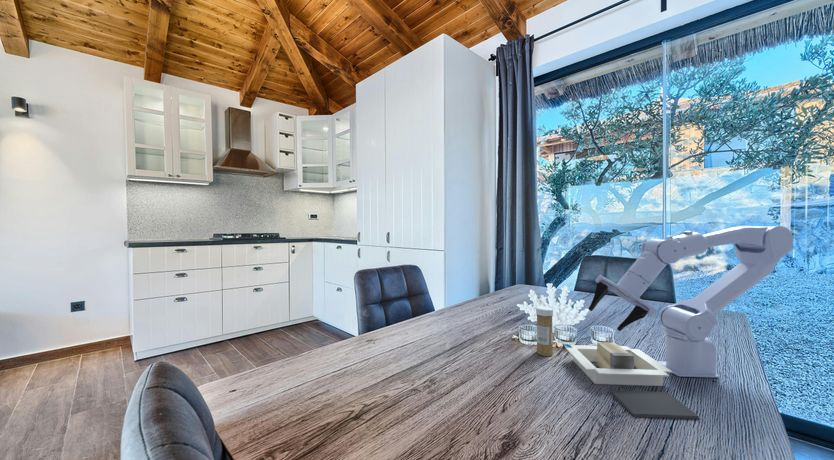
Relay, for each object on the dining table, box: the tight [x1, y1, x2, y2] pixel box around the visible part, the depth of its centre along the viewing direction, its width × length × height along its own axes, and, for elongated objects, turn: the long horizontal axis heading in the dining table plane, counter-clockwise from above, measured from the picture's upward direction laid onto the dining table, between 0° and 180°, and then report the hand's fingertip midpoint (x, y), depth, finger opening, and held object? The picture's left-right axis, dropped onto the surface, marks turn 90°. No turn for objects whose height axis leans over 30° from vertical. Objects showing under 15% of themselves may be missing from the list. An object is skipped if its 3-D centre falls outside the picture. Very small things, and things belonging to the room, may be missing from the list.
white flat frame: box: [565, 344, 673, 387], centre depth 83 cm, size 19×17×4 cm
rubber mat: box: [610, 389, 700, 420], centre depth 68 cm, size 12×9×1 cm
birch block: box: [596, 341, 635, 369], centre depth 83 cm, size 5×9×6 cm, turn 175°
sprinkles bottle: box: [535, 305, 554, 357], centre depth 95 cm, size 5×5×13 cm
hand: (603, 319), depth 84 cm, fingers open, 7 cm apart
